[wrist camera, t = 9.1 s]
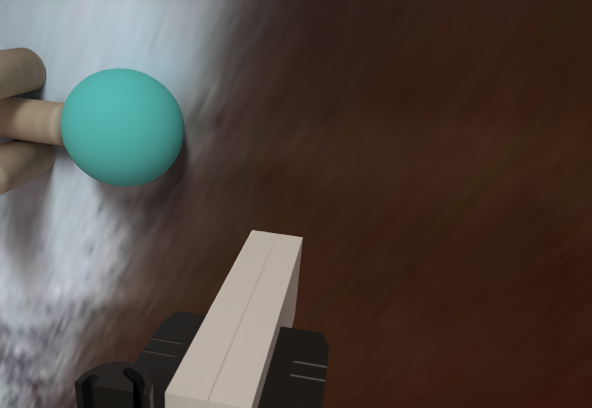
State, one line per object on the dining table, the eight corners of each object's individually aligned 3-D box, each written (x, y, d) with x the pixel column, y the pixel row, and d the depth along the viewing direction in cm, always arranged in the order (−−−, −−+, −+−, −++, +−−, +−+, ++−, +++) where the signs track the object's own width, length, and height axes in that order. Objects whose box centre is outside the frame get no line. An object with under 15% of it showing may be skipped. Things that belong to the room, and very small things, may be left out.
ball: (56, 57, 26) (170, 72, 29) (54, 169, 27) (163, 172, 30) (68, 64, 21) (204, 81, 24) (65, 201, 22) (193, 200, 25)
